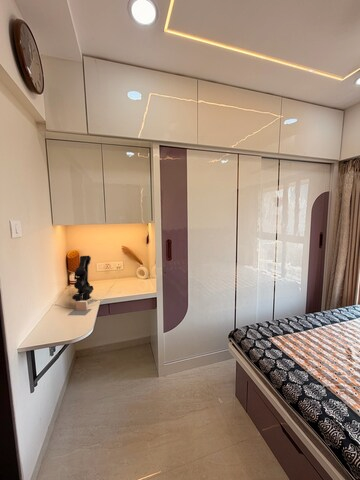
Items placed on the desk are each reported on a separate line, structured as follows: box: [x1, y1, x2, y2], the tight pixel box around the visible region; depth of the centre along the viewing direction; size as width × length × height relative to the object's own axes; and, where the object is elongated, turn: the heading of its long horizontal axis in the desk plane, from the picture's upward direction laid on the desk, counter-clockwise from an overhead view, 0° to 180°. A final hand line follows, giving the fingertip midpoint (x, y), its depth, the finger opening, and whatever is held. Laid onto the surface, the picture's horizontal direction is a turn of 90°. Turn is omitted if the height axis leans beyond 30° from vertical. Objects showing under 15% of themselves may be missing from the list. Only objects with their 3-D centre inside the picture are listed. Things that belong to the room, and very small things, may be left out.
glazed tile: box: [75, 300, 89, 311], centre depth 159 cm, size 2×8×7 cm, turn 87°
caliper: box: [73, 298, 98, 310], centre depth 167 cm, size 20×1×6 cm
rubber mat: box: [67, 308, 93, 316], centre depth 156 cm, size 10×14×1 cm
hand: (83, 302), depth 168 cm, fingers open, 9 cm apart
